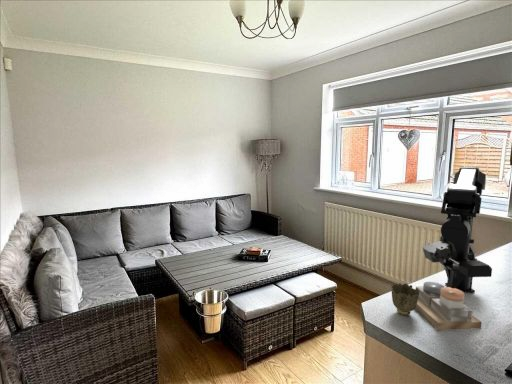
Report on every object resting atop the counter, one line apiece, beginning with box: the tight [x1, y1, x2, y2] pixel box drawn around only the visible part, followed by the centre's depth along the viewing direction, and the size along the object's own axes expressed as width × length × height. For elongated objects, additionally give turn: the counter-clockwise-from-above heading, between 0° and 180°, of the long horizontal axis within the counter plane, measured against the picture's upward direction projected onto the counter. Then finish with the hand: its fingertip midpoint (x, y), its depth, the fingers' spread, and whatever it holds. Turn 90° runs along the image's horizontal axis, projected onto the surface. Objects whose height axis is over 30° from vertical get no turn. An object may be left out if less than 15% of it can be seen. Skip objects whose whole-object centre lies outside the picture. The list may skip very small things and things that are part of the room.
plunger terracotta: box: [440, 286, 465, 309], centre depth 86 cm, size 6×6×4 cm
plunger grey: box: [422, 281, 445, 295], centre depth 94 cm, size 6×6×4 cm
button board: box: [414, 285, 483, 331], centre depth 90 cm, size 12×16×5 cm
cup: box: [391, 282, 420, 317], centre depth 90 cm, size 8×7×8 cm
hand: (452, 287), depth 85 cm, fingers closed
